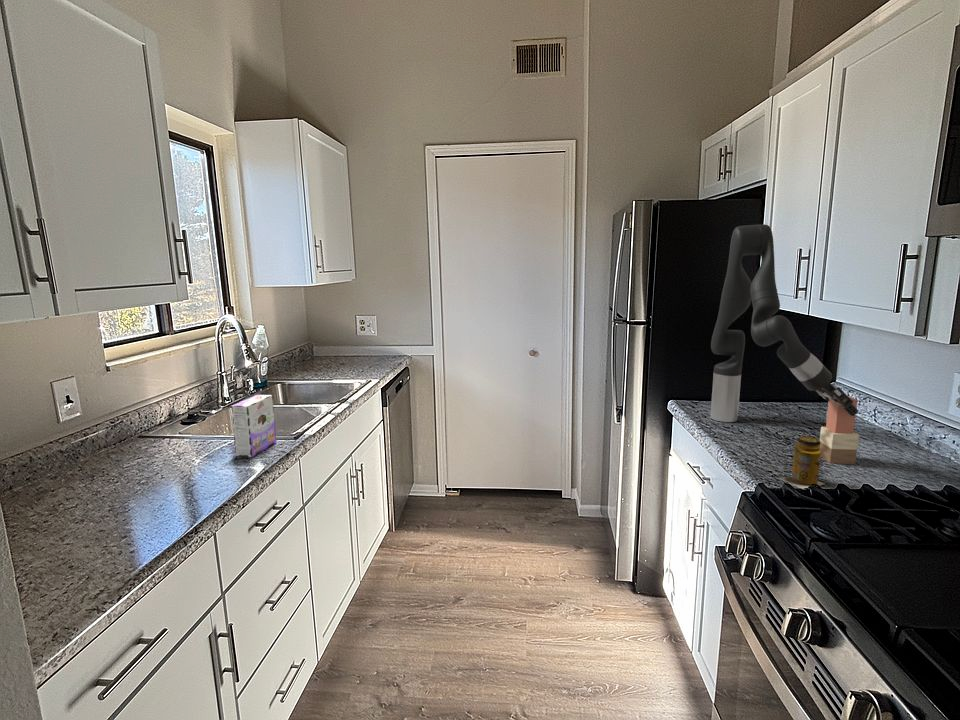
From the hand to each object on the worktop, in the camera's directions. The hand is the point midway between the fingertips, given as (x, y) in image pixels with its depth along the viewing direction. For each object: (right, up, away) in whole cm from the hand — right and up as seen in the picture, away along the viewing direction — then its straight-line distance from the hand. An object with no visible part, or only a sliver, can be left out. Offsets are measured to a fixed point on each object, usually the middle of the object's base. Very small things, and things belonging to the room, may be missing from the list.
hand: (846, 409), depth 159 cm
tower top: (-1, -11, +2) cm, 11 cm away
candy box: (-178, -14, +15) cm, 180 cm away
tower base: (-1, -15, +3) cm, 15 cm away
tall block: (-1, -6, +1) cm, 6 cm away
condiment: (-21, -18, -13) cm, 31 cm away
